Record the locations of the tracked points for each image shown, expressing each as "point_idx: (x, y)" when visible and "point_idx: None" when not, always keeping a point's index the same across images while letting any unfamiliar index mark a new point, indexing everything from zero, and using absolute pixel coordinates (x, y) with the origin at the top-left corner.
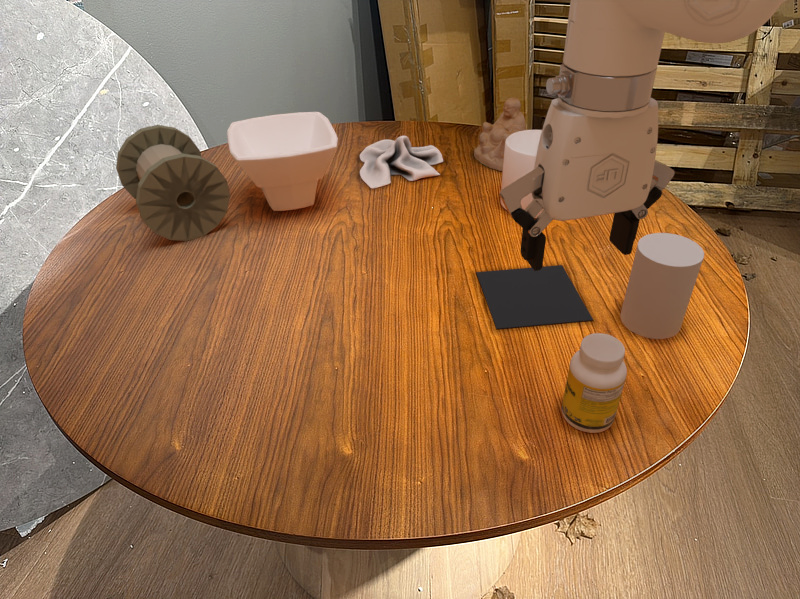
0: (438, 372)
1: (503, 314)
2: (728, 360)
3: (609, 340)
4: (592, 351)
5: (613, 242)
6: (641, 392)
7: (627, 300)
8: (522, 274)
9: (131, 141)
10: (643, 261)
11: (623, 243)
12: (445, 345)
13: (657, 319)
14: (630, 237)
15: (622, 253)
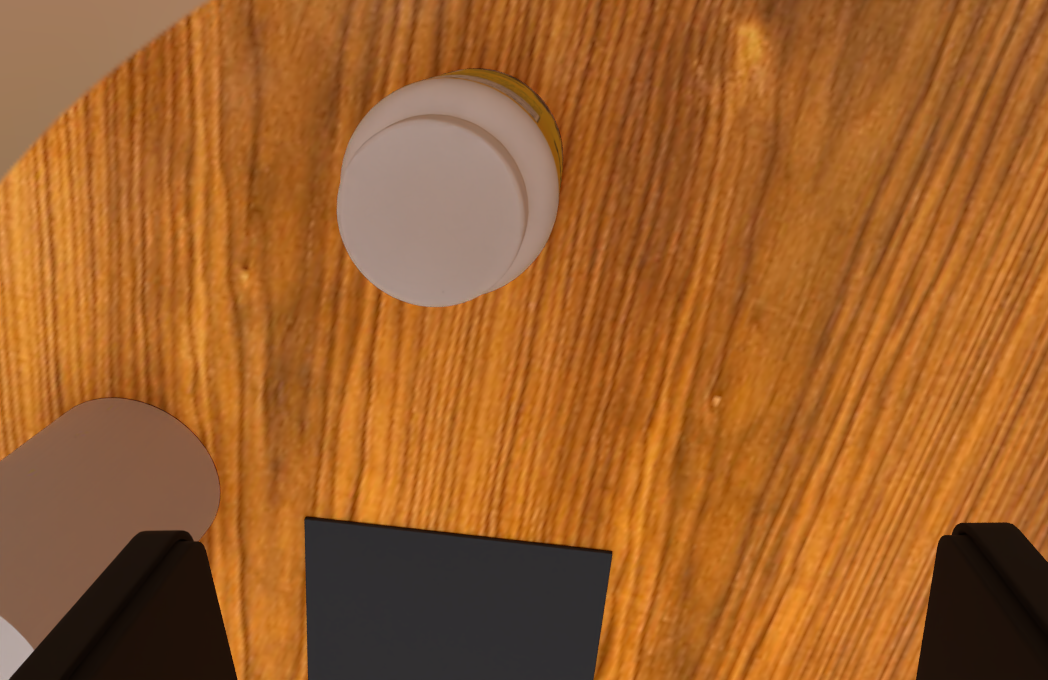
0: (863, 428)
1: (567, 602)
2: None
3: (384, 249)
4: (487, 199)
5: (225, 676)
6: (274, 205)
7: None
8: None
9: None
10: None
11: (166, 622)
12: (794, 527)
13: (113, 445)
14: (84, 647)
15: (204, 551)
